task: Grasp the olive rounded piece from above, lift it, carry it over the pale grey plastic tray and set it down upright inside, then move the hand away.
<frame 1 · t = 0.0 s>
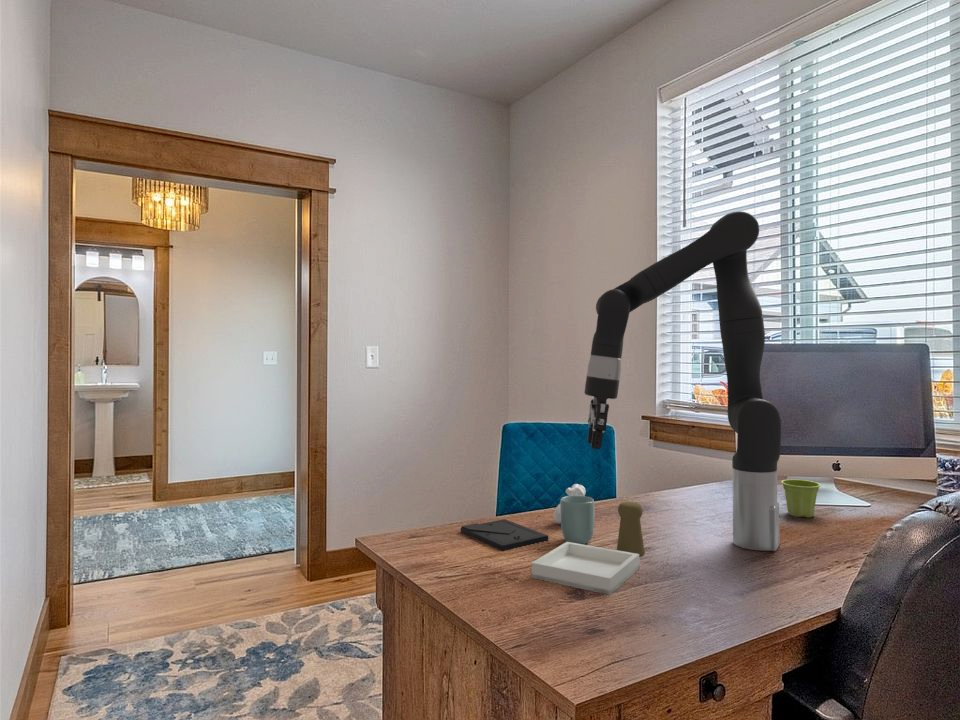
hand: (593, 446, 139), 22 cm above the table, tool pointing down, fingers open, 8 cm apart
picture frame: (503, 540, 145), on the table
olive rounded piece: (630, 553, 132), on the table
bust: (572, 523, 157), on the table
plant pot: (801, 515, 163), on the table
tray: (586, 573, 119), on the table
cup: (577, 543, 140), on the table
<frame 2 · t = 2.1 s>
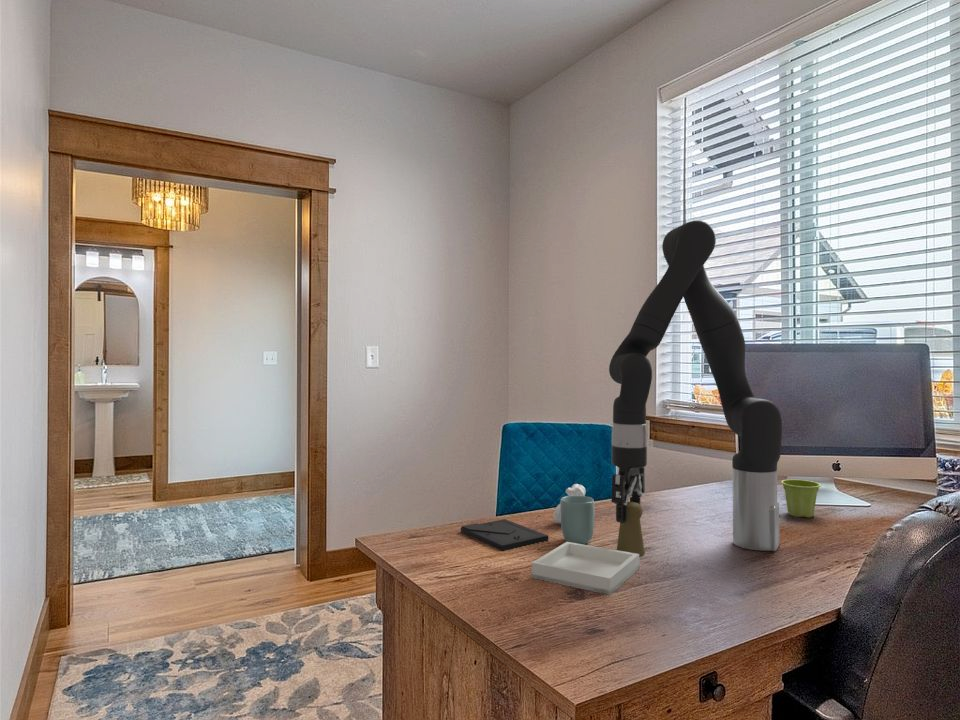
hand: (628, 518, 132), 8 cm above the table, tool pointing down, fingers open, 8 cm apart
nothing on the table moved.
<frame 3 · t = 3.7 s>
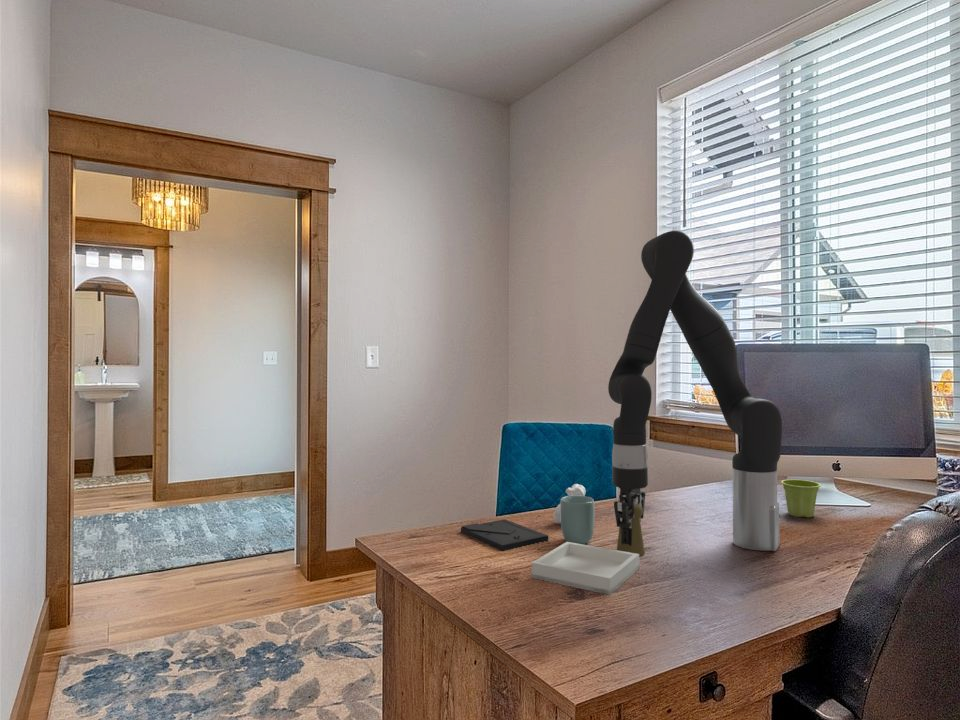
hand: (630, 542, 132), 2 cm above the table, tool pointing down, fingers closed on olive rounded piece, 4 cm apart
olive rounded piece: (630, 553, 132), on the table, touching gripper
everything else where it was.
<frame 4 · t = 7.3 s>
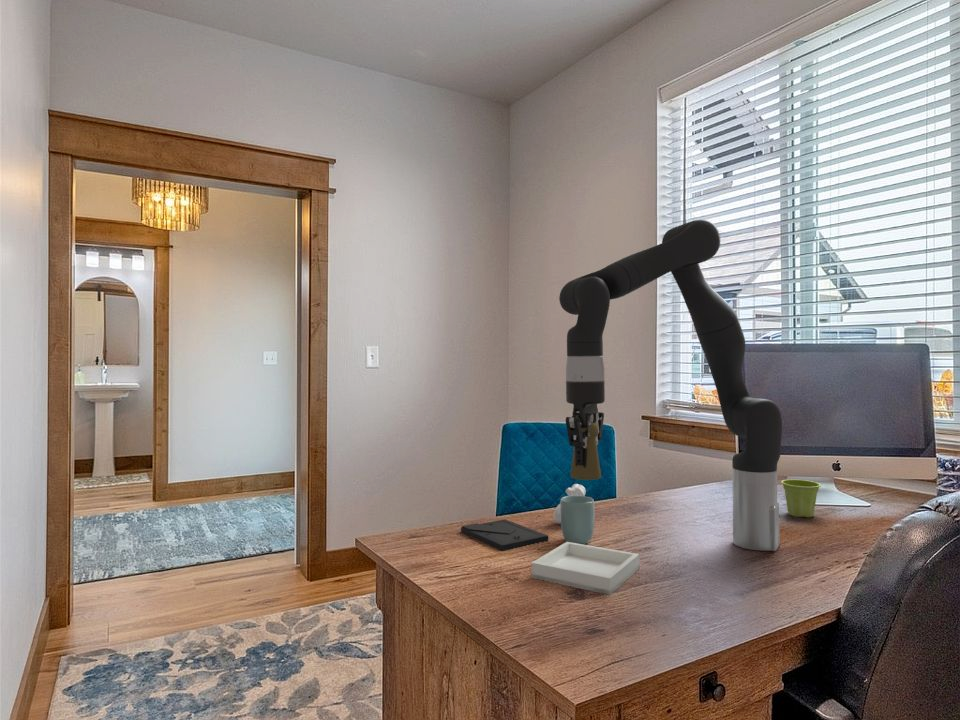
hand: (586, 465, 119), 21 cm above the table, tool pointing down, fingers closed on olive rounded piece, 4 cm apart
olive rounded piece: (585, 477, 119), point 19 cm above the table, touching gripper
everything else where it was.
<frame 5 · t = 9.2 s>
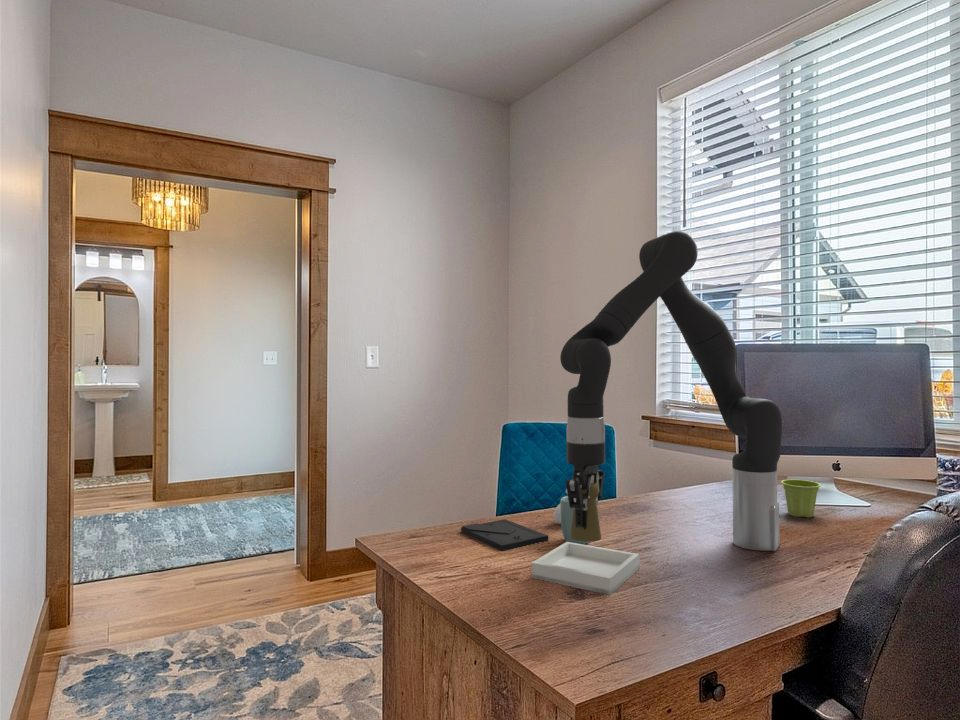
hand: (586, 525, 119), 9 cm above the table, tool pointing down, fingers closed on olive rounded piece, 4 cm apart
olive rounded piece: (585, 538, 119), point 7 cm above the table, touching gripper
everything else where it was.
when the fingers open (5 cm above the table, at t = 11.0 s): olive rounded piece drops 2 cm, resting on tray.
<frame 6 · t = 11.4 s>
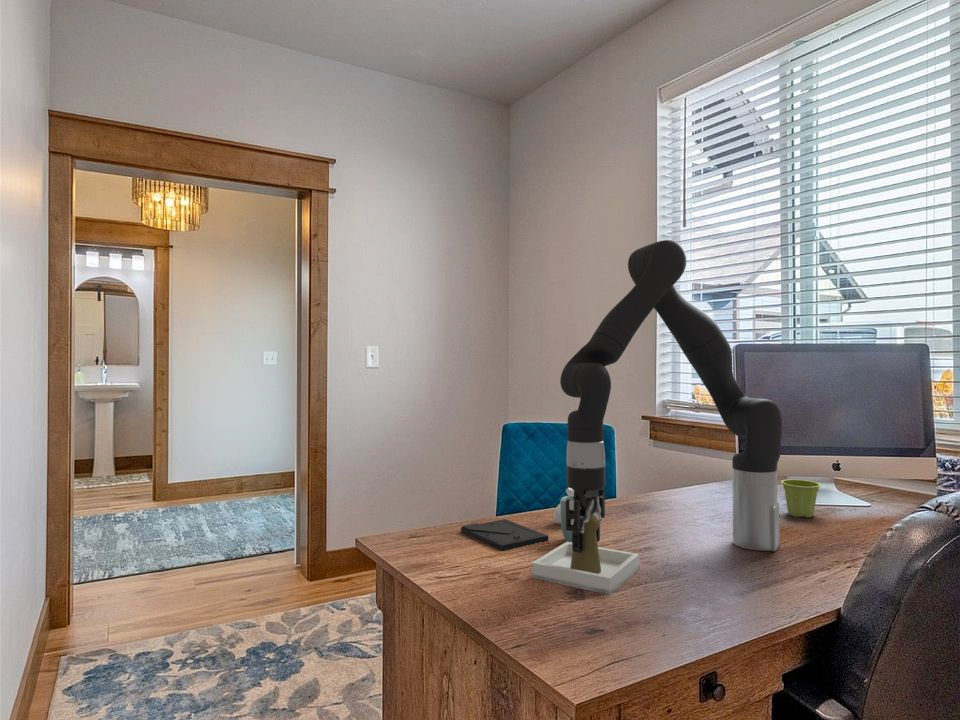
hand: (586, 546, 119), 5 cm above the table, tool pointing down, fingers open, 7 cm apart
olive rounded piece: (585, 571, 119), point 1 cm above the table, touching tray
everything else where it was.
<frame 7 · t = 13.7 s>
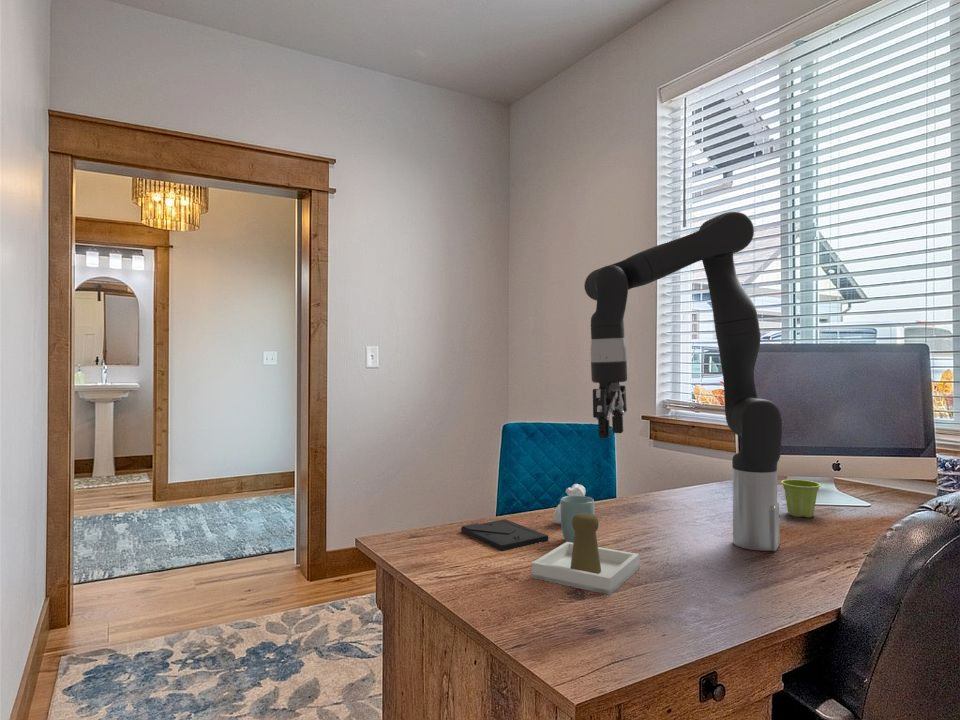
hand: (611, 435, 130), 26 cm above the table, tool pointing down, fingers open, 8 cm apart
nothing on the table moved.
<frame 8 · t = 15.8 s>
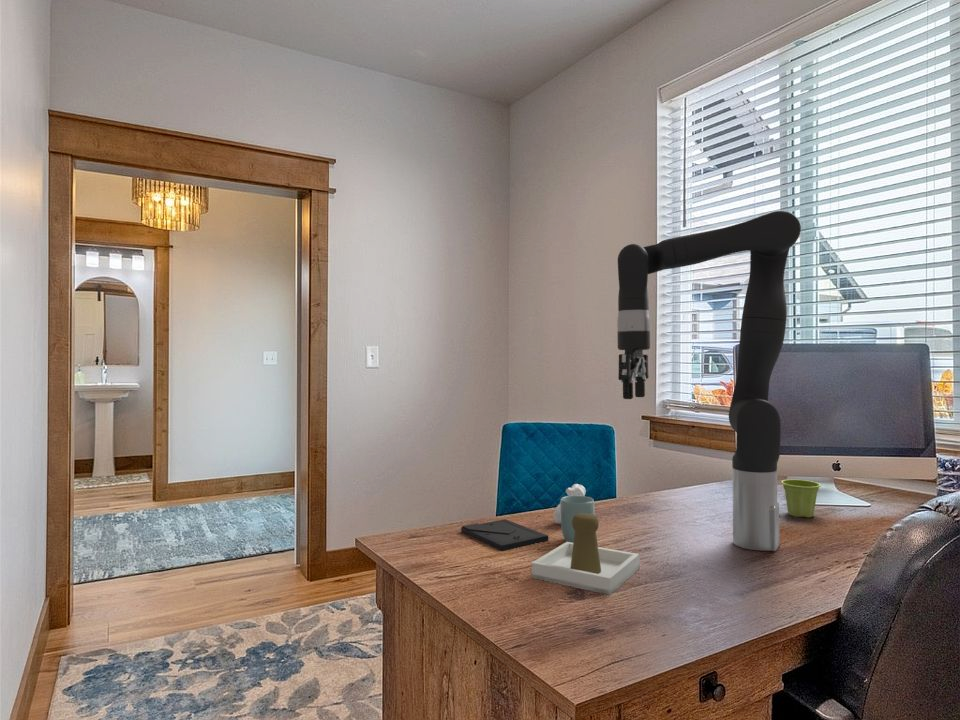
hand: (634, 398, 144), 33 cm above the table, tool pointing down, fingers open, 8 cm apart
nothing on the table moved.
at the end: olive rounded piece inside the target area on the tray (0.4 cm from its centre), point 0.6 cm above the tray's base; olive rounded piece tilted 0°; the gripper is holding nothing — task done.
